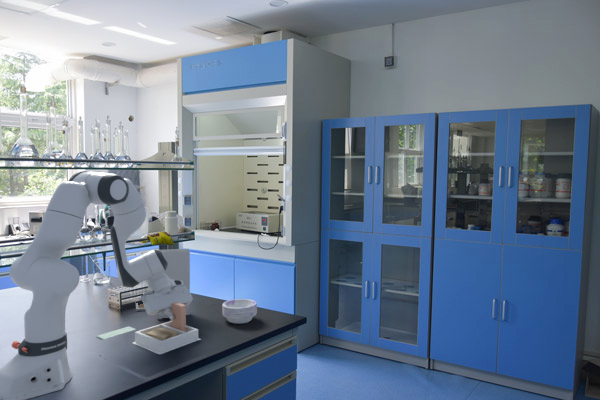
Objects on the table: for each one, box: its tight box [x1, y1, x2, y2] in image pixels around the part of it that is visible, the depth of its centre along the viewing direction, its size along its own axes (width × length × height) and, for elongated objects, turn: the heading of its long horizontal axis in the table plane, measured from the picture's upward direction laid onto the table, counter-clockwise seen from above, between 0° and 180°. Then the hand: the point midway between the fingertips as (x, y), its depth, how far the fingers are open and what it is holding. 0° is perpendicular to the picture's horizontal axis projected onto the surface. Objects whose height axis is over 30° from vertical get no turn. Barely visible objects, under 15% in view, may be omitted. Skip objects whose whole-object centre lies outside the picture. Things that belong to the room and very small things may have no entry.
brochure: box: [156, 248, 191, 320], centre depth 205 cm, size 14×6×30 cm, turn 108°
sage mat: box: [96, 326, 137, 340], centre depth 181 cm, size 14×14×1 cm
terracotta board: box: [171, 302, 187, 332], centre depth 178 cm, size 2×6×13 cm, turn 53°
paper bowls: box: [221, 298, 258, 325], centre depth 202 cm, size 15×15×8 cm
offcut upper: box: [146, 328, 177, 341], centre depth 172 cm, size 7×9×2 cm
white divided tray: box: [132, 320, 201, 356], centre depth 174 cm, size 19×17×5 cm
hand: (177, 317), depth 179 cm, fingers closed on terracotta board, 2 cm apart
